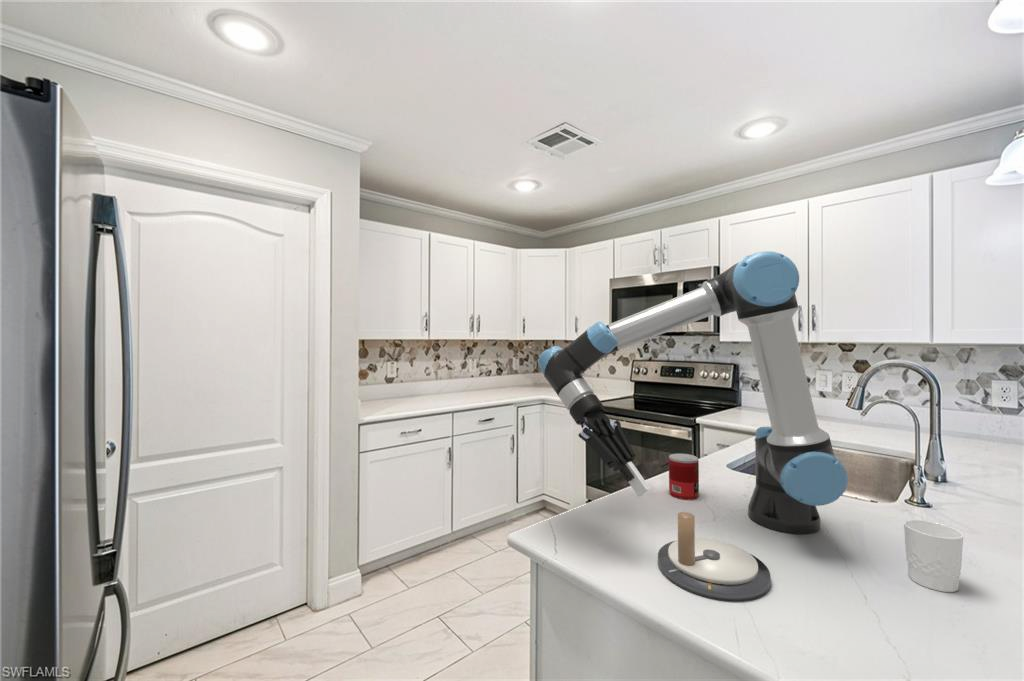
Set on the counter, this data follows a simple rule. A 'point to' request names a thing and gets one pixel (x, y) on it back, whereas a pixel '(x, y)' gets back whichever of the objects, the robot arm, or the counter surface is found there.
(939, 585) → the white cup
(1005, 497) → the counter surface
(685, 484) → the canned food
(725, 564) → the dial
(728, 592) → the dial base
